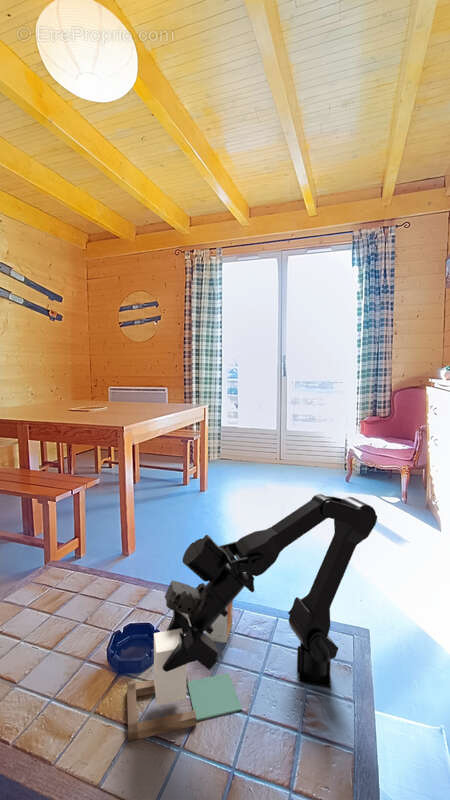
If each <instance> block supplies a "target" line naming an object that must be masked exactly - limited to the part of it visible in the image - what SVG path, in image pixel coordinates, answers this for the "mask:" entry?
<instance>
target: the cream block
mask: <svg viewBox="0 0 450 800" xmlns="http://www.w3.org/2000/svg"><path fill="white" fill-rule="evenodd" d="M180 632H181V633H182V634H183V632H182V628H180V629H175V630H169V631H167V630H165V631H164V630H163V631H159V632H154V633H153V680H154V687H155V693H154V694H155V695H154V696H155V703H156V706H161V705H166V704H170V703H174V702H178V701H183V700H186V699H187V686H186V674H187V664H185V665H182V666H180V667H177V668H175V669H173V670H170V671H168V672H166V671H164V670H163V666H164V664H165V662H166V661H167V659H168V658H169V657H170V655H171V654H172V652H173V651H174V650H175V648H176V647H177V645H178V644H179V633H180Z"/></svg>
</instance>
